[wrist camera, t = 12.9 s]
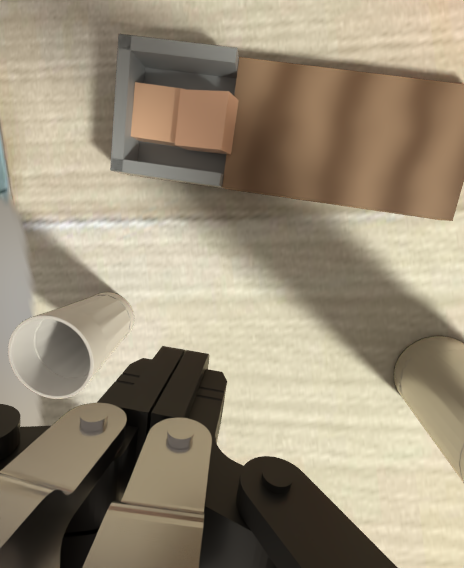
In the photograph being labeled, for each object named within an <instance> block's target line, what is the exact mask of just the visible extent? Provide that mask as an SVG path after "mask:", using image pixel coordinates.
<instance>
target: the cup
mask: <svg viewBox="0 0 464 568" xmlns="http://www.w3.org/2000/svg"><path fill="white" fill-rule="evenodd" d="M133 326H134V313H133V310H132V308H131V306H130V304H129V303H128V302H127V301H126V300H125V299H124V298H123V297H121V296H120V295H118V294H115V293H111V292H103V293H99V294H96V295H95V296H93V297H90V298H87V299H84V300H81V301H78V302H76V303H73V304H70V305H67V306H64V307H61V308H58V309H55V310H52V311H49V312H46V313H43V314H40V315H37V316H34V317H31V318H28V319H26V320H25V321H23V322H22V323H20V324H19V325H18V326H17V327H16V328H15V330H14V331H13V333H12V335H11V337H10V340H9V345H8V356H9V361H10V364H11V367H12V369H13V371H14V373H15V375H16V376H17V378H18V379H19V380H20V382H21V383H22V384H23V385H25V386H26V387H27V388H28V389H29V390H31V391H32V392H34V393H36V394H38V395H40V396H43V397H47V398H52V399H63V398H68V397H71V396H74V395H76V394H78V393H79V392H80V391H82V390H83V389H84V388H85V387H86V386H87V384H88V383H89V382H90V380H91V379H92V378H93V377H94V375H95V374H96V373H97V372H98V370H99V369H100V368H101V366H102V365H103V364H104V362H105V361H106V360H107V359H108V357H109V356H110V355H111V354H112V353H113V351H114V350H115V349H116V348H117V347H118V345H119V344H120V343H121V342H122V341H123V339H125V338H126V337H127V336H128V335H129V334H130V332H131V331H132V329H133Z"/></svg>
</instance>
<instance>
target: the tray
mask: <svg viewBox="0 0 464 568" xmlns="http://www.w3.org/2000/svg"><path fill="white" fill-rule="evenodd" d="M238 63H239V55H238V50H237V48H233V47H225V46H217V45H208V44H200V43H192V42H183V41H175V40H166V39H158V38H150V37H141V36H133V35H125V34H119V37H118V54H117V70H116V86H115V103H114V119H113V135H112V152H111V168H110V170H111V171H115V172H119V173H123V174H127V175H134V176H140V177H147V178H154V179H161V180H168V181H175V182H182V183H189V184H196V185H203V186H209V187H216V188H222V185H223V177H224V169H225V162H226V154H220V153H210V152H201V151H192V150H186V149H183V148H181V147H176V146H169V145H162V144H155V143H149V142H142V141H138V140H136V139H134V138H133V137H131V126H132V113H133V100H134V88H135V82H138V83H145V84H153V85H160V86H167V87H174V88H182V89H185V90H209V91H229V92H230V93H231V94H232V95H234V94H235V86H236V79H237V71H238ZM223 189H224V188H223Z"/></svg>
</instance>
